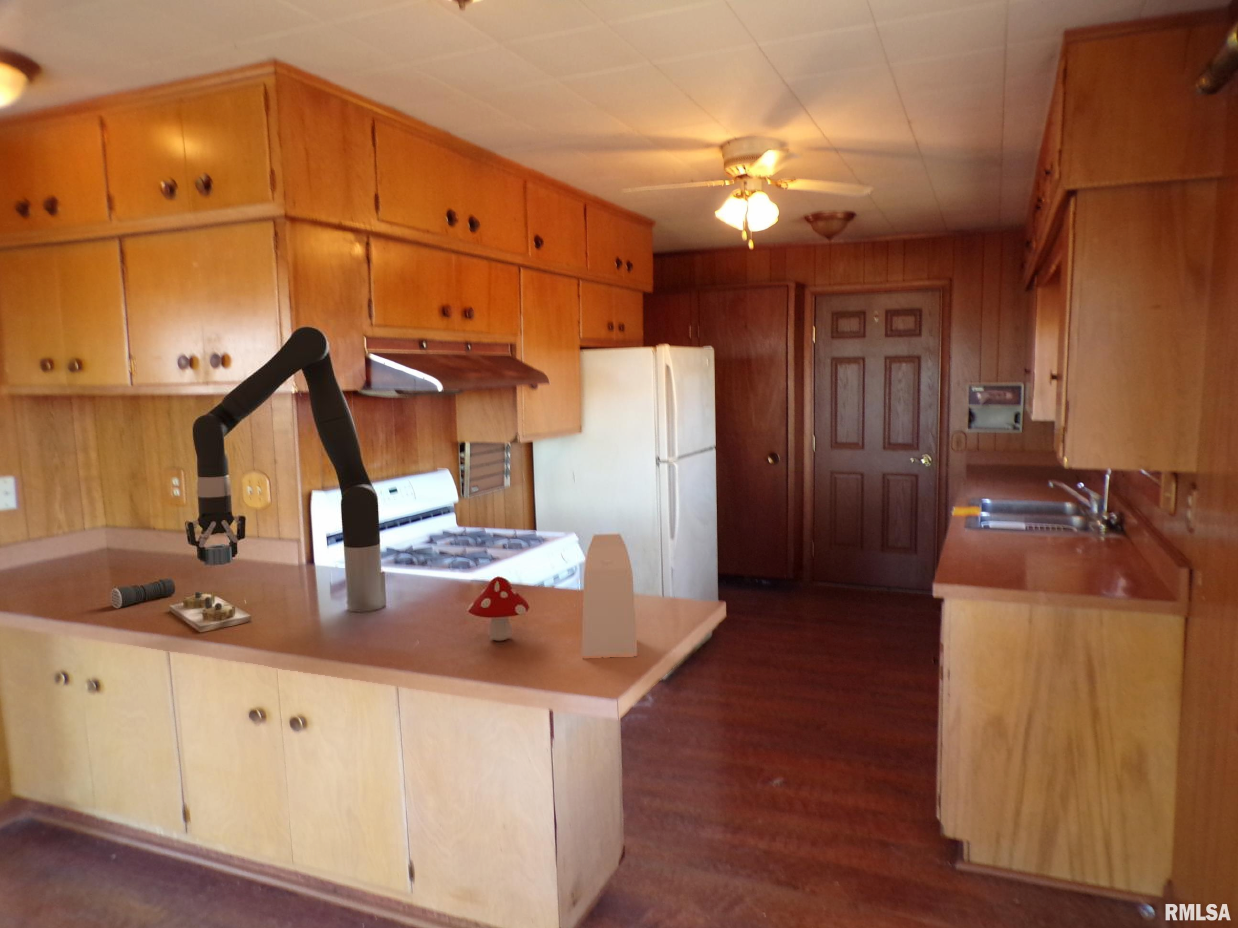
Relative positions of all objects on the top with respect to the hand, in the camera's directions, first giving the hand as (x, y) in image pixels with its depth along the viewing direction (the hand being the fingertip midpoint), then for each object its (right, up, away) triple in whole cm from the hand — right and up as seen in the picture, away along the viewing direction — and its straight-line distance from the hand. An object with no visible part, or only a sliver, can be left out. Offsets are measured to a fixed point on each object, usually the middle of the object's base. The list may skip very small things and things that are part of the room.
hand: (218, 558), depth 206 cm
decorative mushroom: (+74, -17, -16) cm, 77 cm away
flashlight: (-32, -15, +22) cm, 41 cm away
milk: (+99, -18, -24) cm, 103 cm away
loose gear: (0, -1, 0) cm, 1 cm away
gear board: (-6, -16, +7) cm, 18 cm away
